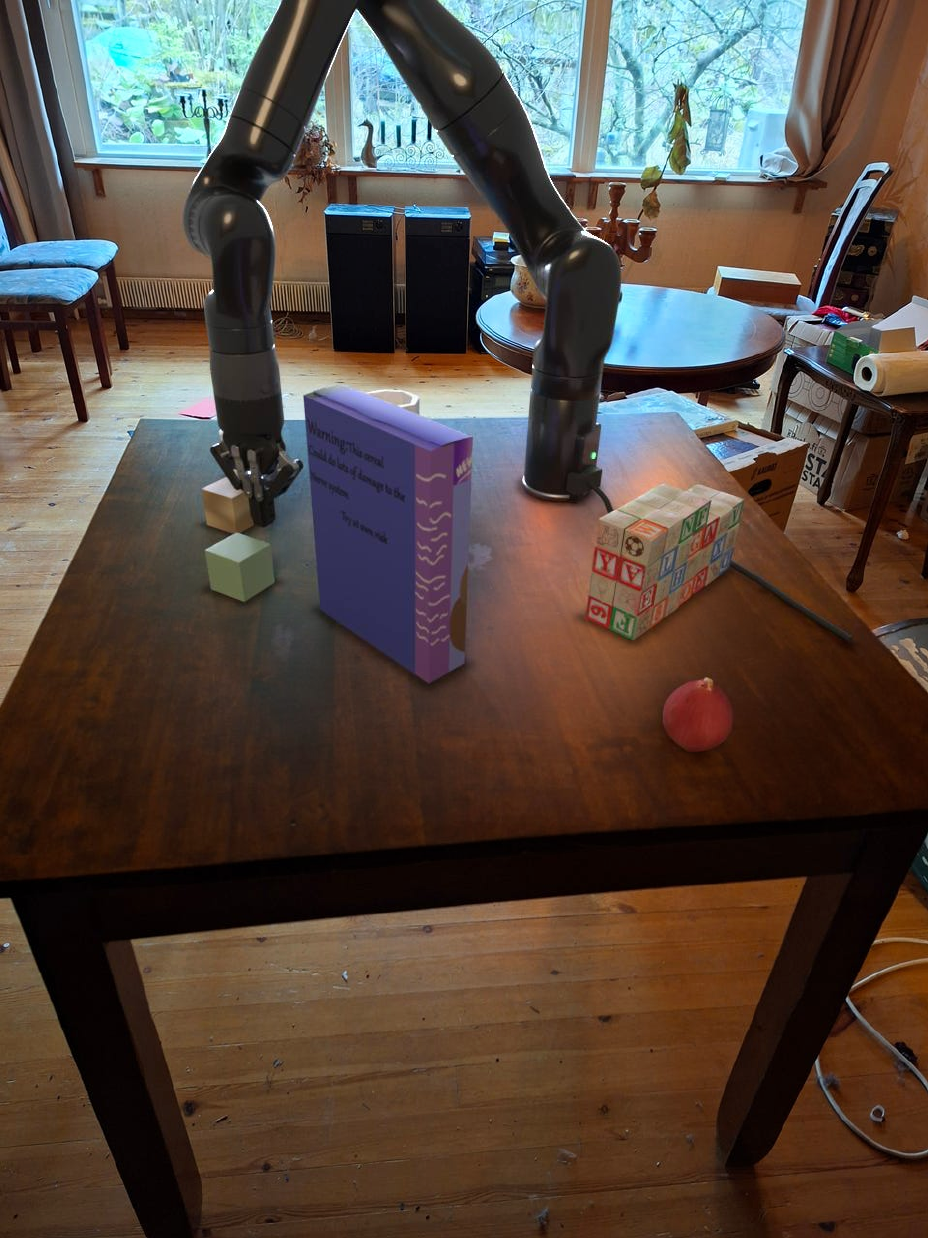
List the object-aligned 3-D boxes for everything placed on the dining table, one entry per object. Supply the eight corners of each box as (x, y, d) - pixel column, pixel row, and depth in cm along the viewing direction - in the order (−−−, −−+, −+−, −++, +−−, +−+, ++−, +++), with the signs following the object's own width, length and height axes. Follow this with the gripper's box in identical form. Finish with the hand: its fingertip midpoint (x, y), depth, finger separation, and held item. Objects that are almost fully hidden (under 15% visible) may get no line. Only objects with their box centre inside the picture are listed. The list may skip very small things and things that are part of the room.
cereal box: (464, 665, 82) (473, 434, 69) (428, 685, 80) (430, 448, 66) (355, 595, 93) (344, 382, 79) (320, 610, 90) (303, 392, 76)
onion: (648, 728, 75) (663, 657, 71) (710, 726, 76) (728, 655, 71) (667, 773, 71) (683, 700, 66) (733, 771, 71) (753, 698, 67)
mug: (358, 454, 126) (355, 390, 120) (414, 450, 128) (414, 387, 122) (370, 487, 116) (367, 419, 111) (430, 483, 118) (431, 416, 113)
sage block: (275, 582, 94) (270, 543, 92) (244, 602, 91) (239, 562, 88) (241, 570, 96) (236, 532, 94) (210, 589, 93) (204, 550, 90)
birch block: (263, 519, 107) (259, 484, 104) (236, 535, 103) (231, 498, 101) (234, 510, 109) (229, 474, 106) (206, 525, 105) (201, 488, 103)
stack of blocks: (684, 551, 103) (703, 458, 97) (730, 569, 100) (753, 474, 93) (584, 618, 90) (598, 516, 83) (633, 642, 87) (651, 537, 80)
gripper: (314, 388, 94) (325, 525, 104) (226, 368, 99) (244, 500, 109) (270, 406, 88) (285, 549, 98) (179, 384, 94) (202, 522, 103)
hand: (263, 523), depth 103 cm, fingers closed
